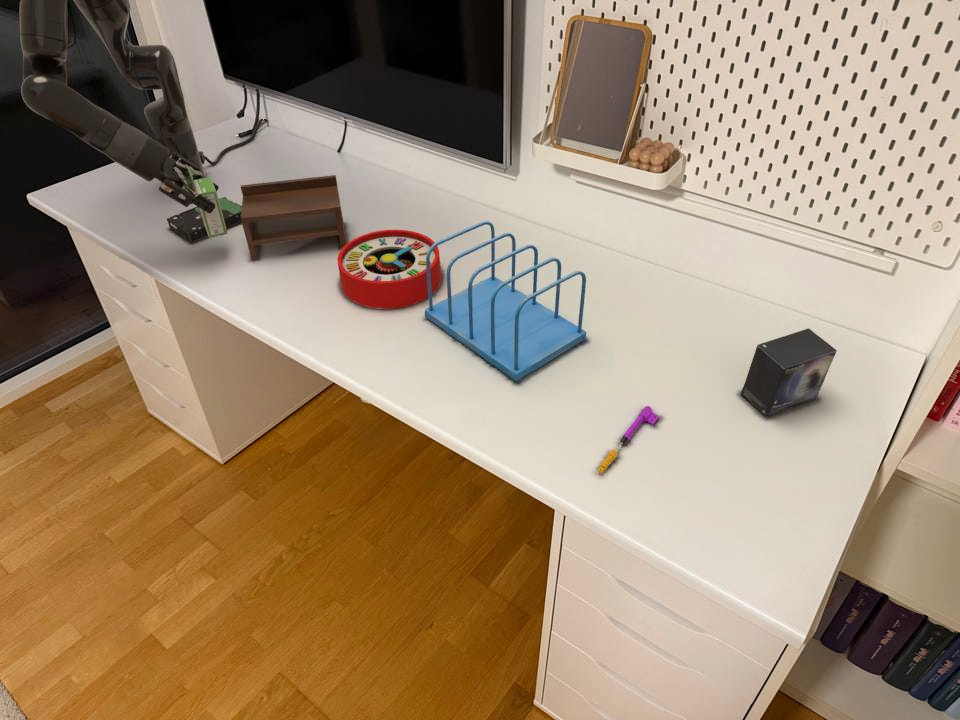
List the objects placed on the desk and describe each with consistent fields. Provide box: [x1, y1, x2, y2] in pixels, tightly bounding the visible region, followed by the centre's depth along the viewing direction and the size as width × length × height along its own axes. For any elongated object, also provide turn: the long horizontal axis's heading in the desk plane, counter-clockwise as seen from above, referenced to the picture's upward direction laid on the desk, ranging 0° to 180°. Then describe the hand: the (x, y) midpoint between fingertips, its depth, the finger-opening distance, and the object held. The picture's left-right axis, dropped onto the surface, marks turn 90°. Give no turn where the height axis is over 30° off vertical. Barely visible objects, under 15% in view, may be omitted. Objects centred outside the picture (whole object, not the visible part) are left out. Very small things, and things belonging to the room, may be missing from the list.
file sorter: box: [424, 220, 587, 382], centre depth 122 cm, size 25×17×15 cm
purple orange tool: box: [597, 405, 660, 474], centre depth 104 cm, size 3×1×16 cm
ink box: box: [186, 165, 228, 238], centre depth 141 cm, size 7×4×13 cm, turn 26°
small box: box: [740, 328, 838, 418], centre depth 108 cm, size 11×6×10 cm, turn 114°
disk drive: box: [166, 196, 242, 243], centre depth 158 cm, size 10×3×15 cm
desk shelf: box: [240, 174, 347, 261], centre depth 148 cm, size 11×20×12 cm, turn 102°
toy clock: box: [336, 229, 442, 310], centre depth 138 cm, size 20×6×20 cm
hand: (214, 199), depth 141 cm, fingers closed on ink box, 7 cm apart
